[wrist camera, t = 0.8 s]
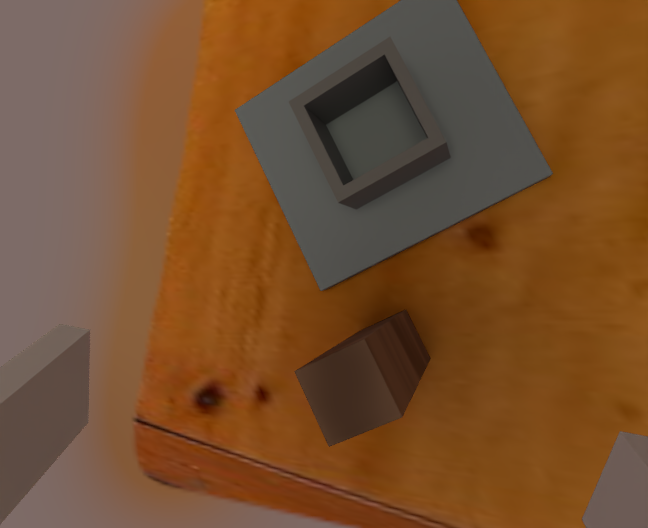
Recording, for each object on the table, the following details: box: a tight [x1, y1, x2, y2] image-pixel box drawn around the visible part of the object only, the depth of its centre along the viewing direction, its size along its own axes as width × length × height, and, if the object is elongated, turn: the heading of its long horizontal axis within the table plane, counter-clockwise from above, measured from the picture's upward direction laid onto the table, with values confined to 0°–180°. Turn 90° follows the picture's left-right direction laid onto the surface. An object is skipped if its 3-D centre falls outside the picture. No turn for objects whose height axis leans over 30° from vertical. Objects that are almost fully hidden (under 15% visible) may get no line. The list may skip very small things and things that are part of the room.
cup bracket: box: [235, 0, 553, 291], centre depth 35 cm, size 18×16×6 cm
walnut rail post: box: [295, 310, 430, 447], centre depth 31 cm, size 4×4×14 cm
